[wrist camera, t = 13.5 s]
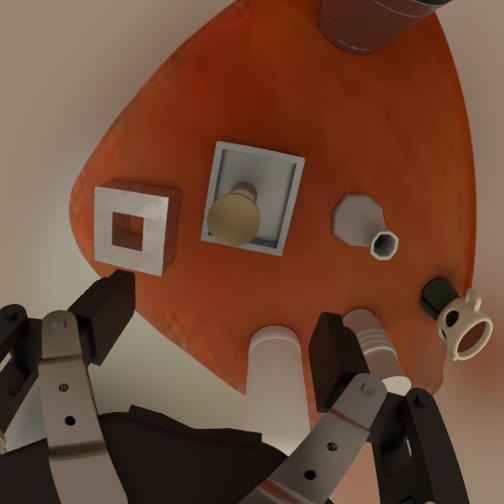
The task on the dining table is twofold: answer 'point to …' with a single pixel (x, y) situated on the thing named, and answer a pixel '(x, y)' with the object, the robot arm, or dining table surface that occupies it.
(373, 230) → the flask
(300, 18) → the dining table surface
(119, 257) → the hitch block
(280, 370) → the bottle
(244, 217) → the pin
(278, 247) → the tray
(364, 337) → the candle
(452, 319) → the character mug
